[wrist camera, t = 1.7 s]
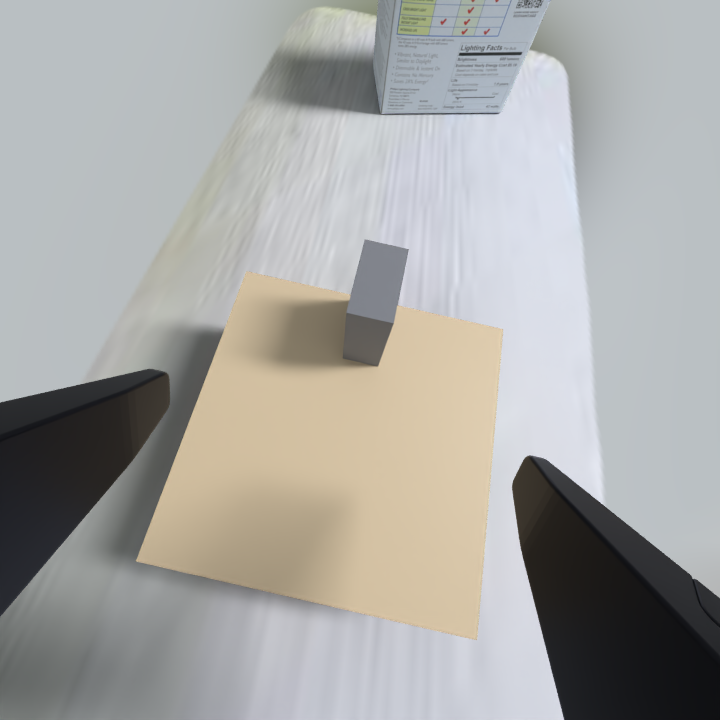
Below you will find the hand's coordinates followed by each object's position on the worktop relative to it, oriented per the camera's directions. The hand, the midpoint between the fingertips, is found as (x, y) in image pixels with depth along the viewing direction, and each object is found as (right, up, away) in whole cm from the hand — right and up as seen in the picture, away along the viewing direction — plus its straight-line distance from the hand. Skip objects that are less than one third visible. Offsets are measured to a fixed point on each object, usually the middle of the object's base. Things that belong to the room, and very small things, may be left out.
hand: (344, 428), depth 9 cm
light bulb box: (+7, +25, +22) cm, 34 cm away
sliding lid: (0, -1, +7) cm, 7 cm away
